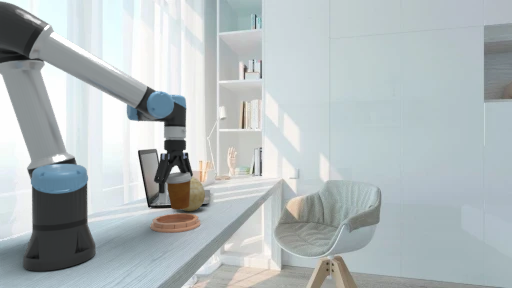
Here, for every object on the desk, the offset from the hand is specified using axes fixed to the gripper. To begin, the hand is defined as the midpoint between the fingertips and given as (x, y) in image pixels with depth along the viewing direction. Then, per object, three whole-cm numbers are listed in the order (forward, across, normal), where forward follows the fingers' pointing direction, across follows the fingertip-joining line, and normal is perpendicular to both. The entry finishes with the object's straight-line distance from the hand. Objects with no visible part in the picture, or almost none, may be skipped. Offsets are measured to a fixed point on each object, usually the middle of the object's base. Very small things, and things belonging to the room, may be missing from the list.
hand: (175, 199), depth 105 cm
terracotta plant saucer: (+9, 0, 0) cm, 9 cm away
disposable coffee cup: (+3, +3, 0) cm, 5 cm away
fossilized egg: (+9, +22, +7) cm, 24 cm away
